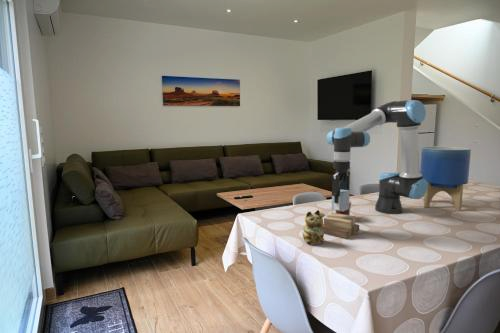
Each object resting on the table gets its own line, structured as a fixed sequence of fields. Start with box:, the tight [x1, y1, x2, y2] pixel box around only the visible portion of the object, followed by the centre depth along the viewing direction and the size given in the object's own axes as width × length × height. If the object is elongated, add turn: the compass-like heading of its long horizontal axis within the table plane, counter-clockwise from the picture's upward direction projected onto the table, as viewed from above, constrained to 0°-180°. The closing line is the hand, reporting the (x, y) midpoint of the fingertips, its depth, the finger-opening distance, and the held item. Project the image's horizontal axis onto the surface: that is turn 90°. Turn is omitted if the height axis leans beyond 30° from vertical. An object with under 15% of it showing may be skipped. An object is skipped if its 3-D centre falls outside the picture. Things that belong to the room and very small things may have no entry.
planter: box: [419, 145, 472, 212], centre depth 205 cm, size 26×26×37 cm
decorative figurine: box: [302, 209, 326, 246], centre depth 146 cm, size 10×8×15 cm
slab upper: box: [323, 212, 357, 231], centre depth 159 cm, size 12×12×4 cm
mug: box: [335, 200, 352, 215], centre depth 180 cm, size 12×9×10 cm
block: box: [331, 189, 350, 211], centre depth 157 cm, size 6×6×9 cm
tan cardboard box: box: [320, 223, 360, 240], centre depth 159 cm, size 14×14×4 cm
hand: (340, 208), depth 158 cm, fingers closed on block, 6 cm apart
